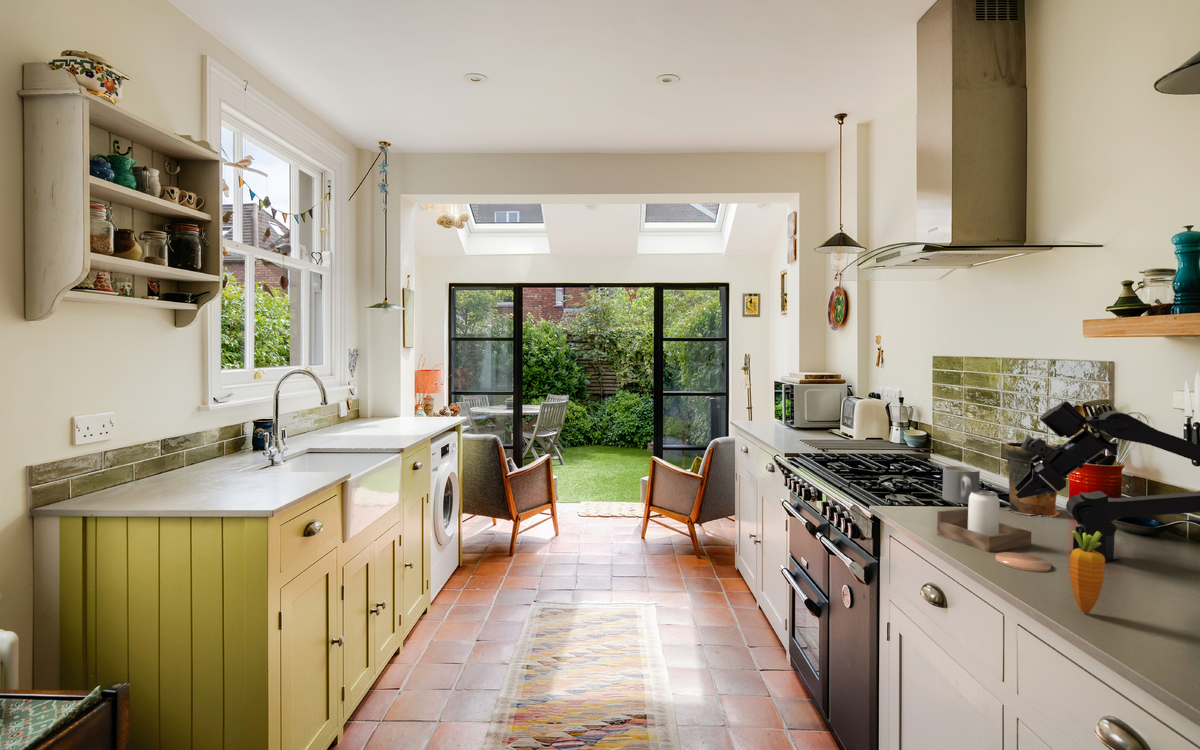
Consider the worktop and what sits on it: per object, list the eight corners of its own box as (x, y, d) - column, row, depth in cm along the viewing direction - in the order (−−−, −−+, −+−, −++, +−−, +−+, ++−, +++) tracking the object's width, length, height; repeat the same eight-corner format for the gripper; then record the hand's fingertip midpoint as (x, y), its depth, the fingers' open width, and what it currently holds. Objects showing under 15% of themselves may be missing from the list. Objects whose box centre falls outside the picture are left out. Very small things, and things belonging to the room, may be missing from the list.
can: (989, 536, 151) (990, 489, 151) (1003, 544, 145) (1005, 495, 144) (962, 535, 152) (963, 489, 151) (975, 543, 145) (977, 495, 145)
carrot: (1061, 610, 107) (1064, 527, 107) (1079, 606, 109) (1082, 525, 109) (1092, 621, 103) (1095, 535, 102) (1110, 617, 105) (1113, 532, 104)
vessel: (1068, 520, 166) (1068, 449, 166) (1006, 514, 173) (1006, 446, 173) (1060, 509, 179) (1060, 443, 178) (1002, 504, 186) (1002, 440, 185)
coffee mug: (941, 494, 197) (942, 464, 196) (977, 498, 192) (978, 467, 192) (943, 503, 185) (944, 471, 185) (981, 507, 180) (982, 475, 180)
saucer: (1062, 568, 129) (1062, 564, 129) (1029, 573, 125) (1029, 570, 125) (1016, 553, 138) (1016, 550, 138) (984, 558, 135) (984, 554, 135)
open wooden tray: (1031, 546, 144) (1031, 521, 144) (988, 551, 139) (989, 526, 139) (977, 529, 157) (978, 507, 157) (937, 534, 152) (937, 511, 152)
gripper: (1043, 422, 148) (989, 461, 155) (1049, 429, 133) (988, 473, 139) (1083, 456, 144) (1025, 495, 150) (1093, 468, 128) (1029, 511, 135)
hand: (1016, 493), depth 144 cm, fingers open, 9 cm apart
